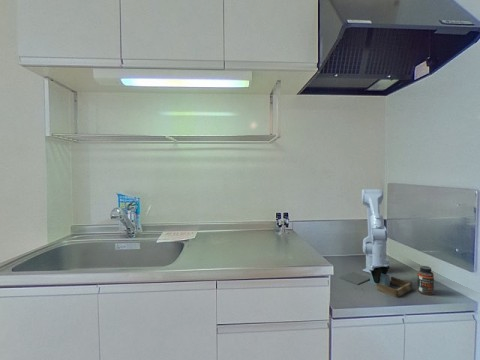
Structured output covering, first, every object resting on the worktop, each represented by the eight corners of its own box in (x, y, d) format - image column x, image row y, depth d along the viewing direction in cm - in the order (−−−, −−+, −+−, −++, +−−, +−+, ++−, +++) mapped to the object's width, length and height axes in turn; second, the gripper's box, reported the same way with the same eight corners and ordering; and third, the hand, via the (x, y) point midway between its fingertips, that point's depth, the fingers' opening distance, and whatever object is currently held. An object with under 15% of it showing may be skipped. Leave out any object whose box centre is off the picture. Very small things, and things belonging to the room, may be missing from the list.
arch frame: (391, 282, 128) (391, 276, 128) (411, 289, 121) (411, 283, 121) (377, 290, 122) (377, 283, 122) (397, 297, 114) (397, 290, 114)
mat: (353, 273, 142) (353, 271, 142) (371, 279, 133) (371, 278, 133) (339, 278, 136) (339, 277, 136) (357, 285, 127) (357, 283, 127)
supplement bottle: (421, 295, 116) (421, 269, 115) (414, 289, 121) (414, 264, 121) (436, 295, 115) (436, 269, 114) (429, 289, 121) (428, 264, 120)
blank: (375, 281, 131) (374, 271, 131) (389, 286, 125) (389, 275, 125) (370, 283, 129) (370, 272, 129) (384, 288, 123) (384, 277, 123)
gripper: (378, 258, 119) (379, 288, 120) (395, 252, 127) (395, 280, 128) (364, 254, 125) (364, 283, 126) (381, 249, 133) (381, 275, 134)
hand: (379, 281), depth 127 cm, fingers closed on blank, 4 cm apart
